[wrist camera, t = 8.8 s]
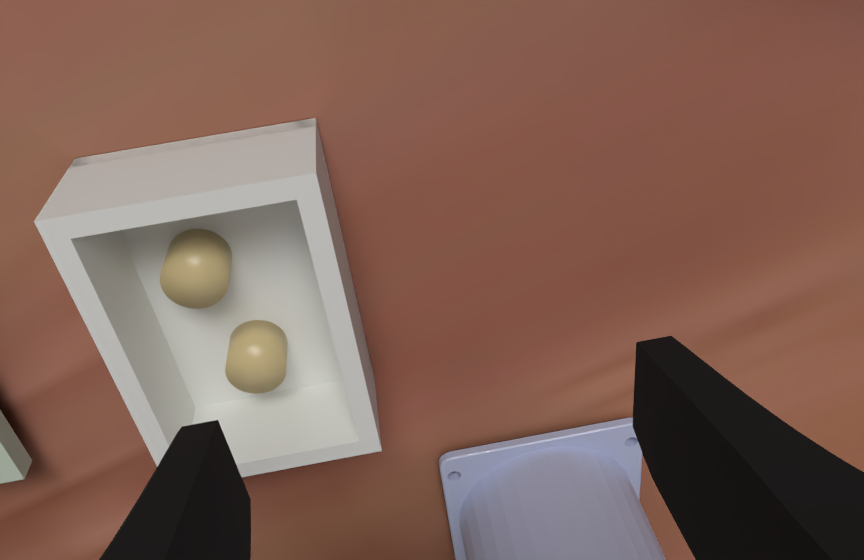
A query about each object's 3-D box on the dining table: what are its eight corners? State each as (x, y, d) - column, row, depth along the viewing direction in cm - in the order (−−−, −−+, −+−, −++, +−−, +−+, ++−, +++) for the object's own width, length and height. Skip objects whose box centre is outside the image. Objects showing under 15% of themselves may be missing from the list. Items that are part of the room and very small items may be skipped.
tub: (374, 376, 25) (381, 450, 23) (185, 410, 25) (169, 490, 22) (315, 117, 20) (316, 172, 17) (74, 159, 20) (34, 221, 17)
